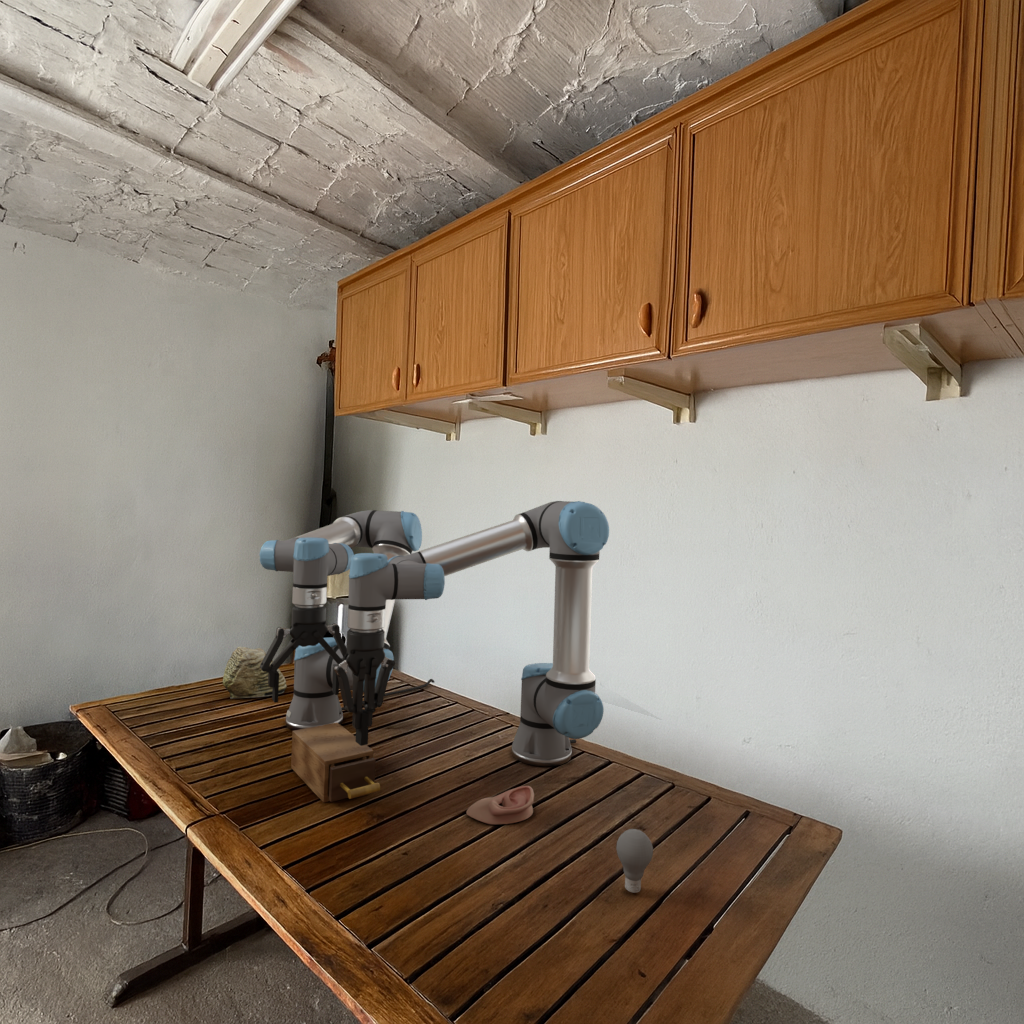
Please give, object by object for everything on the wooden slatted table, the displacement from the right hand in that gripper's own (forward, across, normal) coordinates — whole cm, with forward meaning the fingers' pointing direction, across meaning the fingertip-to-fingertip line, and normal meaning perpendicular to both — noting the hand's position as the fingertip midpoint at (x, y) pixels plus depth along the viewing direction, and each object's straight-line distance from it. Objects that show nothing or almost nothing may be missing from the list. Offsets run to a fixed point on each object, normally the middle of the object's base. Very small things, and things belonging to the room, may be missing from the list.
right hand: (361, 742), depth 130 cm
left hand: (-4, -4, +22) cm, 23 cm away
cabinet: (+13, 0, +15) cm, 20 cm away
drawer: (+12, 0, +9) cm, 15 cm away
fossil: (+13, +3, +84) cm, 85 cm away
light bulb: (+13, +26, -51) cm, 59 cm away
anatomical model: (+13, +23, -18) cm, 32 cm away
